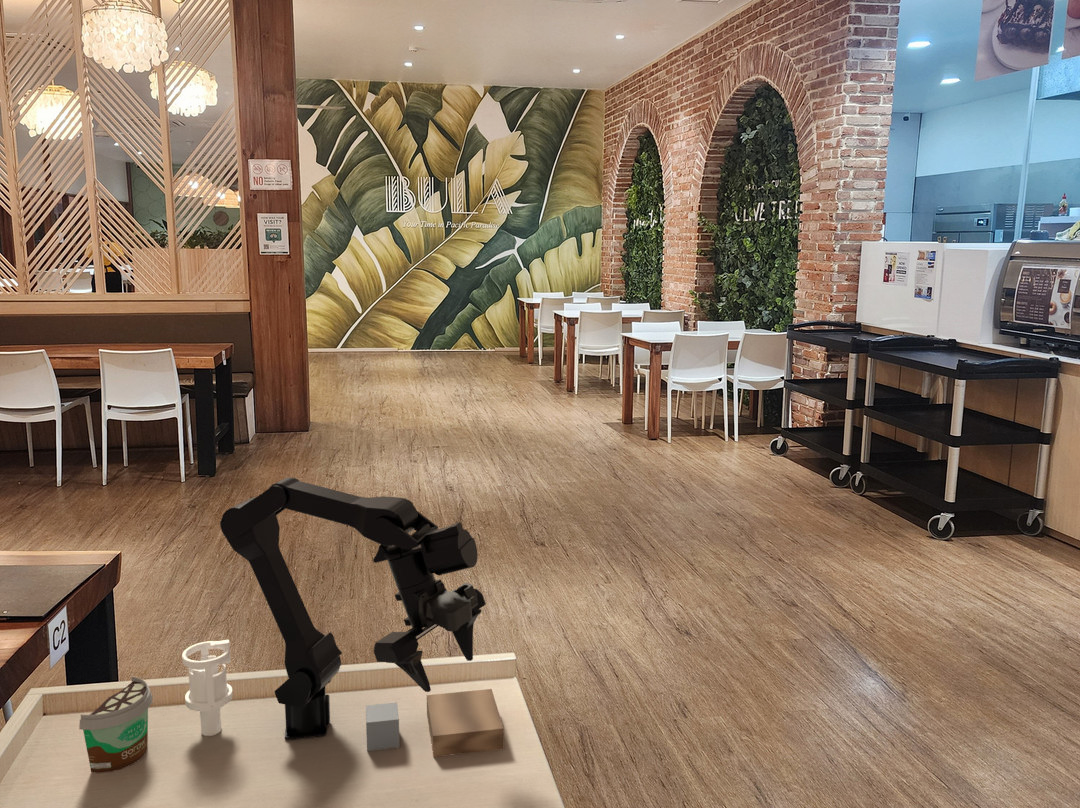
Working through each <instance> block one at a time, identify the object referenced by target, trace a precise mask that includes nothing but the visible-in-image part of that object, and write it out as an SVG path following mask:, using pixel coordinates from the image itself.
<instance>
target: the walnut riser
mask: <svg viewBox="0 0 1080 808" xmlns="http://www.w3.org/2000/svg"><path fill="white" fill-rule="evenodd" d="M426 716H427V717H426V718H427V725H429V726H428V731H429V737H430V738H431V739H430V744H432V745H431V750H432V751H433V752H432V756H433V758H436V757H437V756H438V757H445V756H444V755H447V756H451V755H450V754H456V755H462V754H463V755H464V754H472V753H479V752H480V753H481V752H488V751H489V752H490V751H498V750H504V734H505V733H504V725H503V723H502V719H501V716H500V712H499V709H498V705H497V702H496V699H495V696H494V692H493V689H492V688H487V689H485V688H484V689H477V690H466V691H457V692H448V693H446V692H445V693H436V694H427V695H426Z"/></svg>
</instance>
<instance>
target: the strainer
mask: <svg viewBox="0 0 1080 808" xmlns="http://www.w3.org/2000/svg"><path fill="white" fill-rule="evenodd" d="M211 649H214V650H221V651H222V654H221V655H219V656H217V655H209V654H210V652H209V650H211ZM198 652H200V654H201V655H200V660H193V659H190V658H189V657H190V656H191V655H193V654H194V653H198ZM181 653H182V654H181V658H182V659H181V660H182V665H184V666H185V667H187V668H188V670H187V671H188V681H189V682H188V683H189V684H188V685H189V690H188V691H187V692H186V693H185V696H184V698H185V699H184V700H185V701H184V702H185V706H186V708H187V709H189V710H191V711H195V712H199V718H200V732H201V735H202V736H205V737H211V736H215V735H218V734H219V733H221V731H222V718H221V708H223V707H224V706H226V705H227V704H229V703H230V702H231V700H232V699H233V696H234V695H233V686H231V685H230V684H229V683H228V680H227V666H226V664H231V661H232V660H231V645H230V640H229V639H223V640H219V641H217V640H210V641H203V642H202V641H201V642H198V643H195V644H193V645H191V646H189V647H187V648H186V649H185V650H183V652H181ZM219 665H222V667H223V669H222V670H221V671H220V672H219V670H218V669H219V668H218V667H219Z"/></svg>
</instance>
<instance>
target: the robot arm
mask: <svg viewBox="0 0 1080 808" xmlns="http://www.w3.org/2000/svg"><path fill="white" fill-rule="evenodd" d="M284 510H288V511H292V512H293V511H294V512H297V513H300V514H304V515H308V516H311V517H315V518H318V519H322V520H327V521H330V522H333V523H334V522H335V523H337V524H342V525H345V526H348V527H350V528H353V529H355V530H356V531H357V532H358V533H359V534H360V535H361V536H362V537H363V538H365V539H367V540H370V541H372V542H374V543H376V544H378V545H379V546H378V549H377V552H376V554H375V555H374V557H373V559H372V562H373V563H374V564H378V563H380V562H385V561H387V563H388V566H389V569H390V571H391V574H392V577H393V580H394V583H395V586H396V588H397V590H398V592H397V593H395V594H394V598H395V600H396V602H399V601H400V602H401V601H402V605H403V608H404V610H405V612H406V615H407V617H406V618H404V619H403V622H404V624H405V626H407V627H410V626H411V628H409V629H408V630H407V631H392V632H390V633H389V634H387V635H385V636H383V637H382V638H380V639H379V640H377V641H376V642H375V643H374V647H373V654H374V656H375V659H376V662H377V663H386V664H394V665H396V666H397V667H398V668H400V669H401V670H402V671H404V673H405V674H407V675H408V677H410V679H412V680H413V681H414V682H415V683H416V684H417V685H418V686H419V687H420V688H421V689H422V690H423V691H424V692H426V693H429V692H431V691H432V687H431V685H430V681H429V677H428V675H427V672H426V670H425V668H424V665H423V662H422V655H423V653H424V652H423V650H418V647H419V642H418V640H419V639H422V638H423V637H424V636H425V635H427V634H429V633H430V632H431V631H433V630H435V629H436V628H438V627H439V628H440V627H441V628H442V629H444V630H445V631H447V632H452V635H453V637H454V639H455V640H456V643H457V645H458V647H459V649H460V651H461V653H462V655H463V657H464V659H466V661H468V662H471V661H473V660H474V648H473V647H474V640H473V639H474V625H475V622H476V620H477V618H478V617H479V615H480V614H482V609H481V608H482V607H484V606H485V605H487V602H486V600H485V597H484V594H483V593H482V592H481V591H480V590H479V589H477V588H475V587H474V586H473V584H472V583H469V582H464V583H463V584H462V585H460V586H458V587H457V588H455V589H452V590H451V591H448V589H447V588H446V587H445V584H444V582H443V581H442V579H436V577H435V575H436V576H443V575H447V574H450V573H455V572H459V571H464V570H466V569H470V568H474V567H475V566H476V565H477V562H478V558H479V557H478V547H477V543H476V540H475V538H474V537H472V535H471V533H470V532H469V531H468V530H467V529H464V526H463V524H462V523H461V522H460V521H458V522H455V523H452V524H450V525H447V526H446V527H441V528H439V526H438V525H437V524H435V523H434V522H433V521H432V520H430V519H429V518H428V517H426V516H425V515H423V514H422V513H421V512H419V511H418V510H417V508H416V507H415V505H414V502H412V501H411V500H409V499H408V498H406V497H399V496H398V497H397V496H396V497H395V496H373V497H372V496H370V497H364V496H360V495H359V496H358V495H355V494H351V493H346V492H343V491H339V490H336V489H331V488H327V487H324V486H320V485H316V484H312V483H309V482H304V481H301V480H299V479H298V478H296V477H290V476H289V477H285V478H283V479H281V480H279V481H276V482H275V483H273V484H271V485H270V486H269V487H268V488H267V489H266V490H265V491H263V492H262V493H260V494H259V495H258V496H253V497H250V498H249V499H247V500H244V501H242V502H240V503H237V504H236V505H234V506H232V507H230V508H227V510H225V511H224V512H223V514H222V516H221V520H220V521H219V527H220V530H221V532H222V534H223V536H224V538H225V540H226V541H227V543H229V546H230V547H231V548H232V550H233V551H234V552H235V553H237V554H239V556H241V557H242V558H243V559H245V560H247V561H248V563H249V565H250V567H251V569H252V572H253V573H254V574H253V575H254V576H255V579H256V580H257V582H258V585H259V588H260V590H261V592H262V593H263V596H264V599H265V601H266V603H267V605H268V607H269V609H270V612H271V614H272V616H273V618H274V621H275V623H276V625H277V627H278V630H279V632H280V634H281V636H282V638H283V640H284V641H283V642H284V645H285V647H284V667H285V671H286V674H287V675H286V676H287V680H285V681H284V682H283V683H282V684H281V685H280V686H279V687H278V688H277V689H275V690H274V694H275V697H276V700H277V703H278V704H280V705H284V712H285V713H284V715H285V717H284V718H285V728H284V729H285V730H284V739H285V740H296V739H304V738H305V739H306V738H314V737H322V736H326V735H327V734H328V726H330V725H331V703H330V695H329V694H328V693H326V686H327V685H328V684H330V683H331V682H332V679H333V678H334V677H335V676H336V675H337V674H338V673H339V671H340V668H341V666H342V660H341V655H342V654H343V652H342V651H341V649H340V648H339V647H338V645H337V643H336V640H335V636H334V634H333V633H332V632H328V633H326V634H323V633H322V632H321V631H320V630H318V629H316V627H315V626H314V624H313V621H312V620H311V619H312V618H311V617H310V615H309V613H308V611H307V610H308V609H307V608H306V606H305V604H304V601H303V599H302V596H301V595H300V592H299V590H298V587H297V585H296V584H295V580H294V578H293V576H292V574H291V572H290V569H289V568H288V565H287V563H286V561H285V559H284V556H283V554H282V551H281V550H280V524H279V520H278V515H279V514H280V513H282V512H284ZM413 531H415V532H413ZM412 532H413V533H412ZM411 533H412V534H411Z"/></svg>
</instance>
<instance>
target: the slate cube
mask: <svg viewBox="0 0 1080 808" xmlns="http://www.w3.org/2000/svg"><path fill="white" fill-rule="evenodd" d="M399 716H400V715H399V707H398V702H386V703H377V704H366V705H365V723H366V724H365V726H366V727H365V728H366V730H365V732H366V752H372V751H381V750H382V749H383V750H389V749H388V748H392V749H398V748H397V747H399V748H400V717H399Z"/></svg>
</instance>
